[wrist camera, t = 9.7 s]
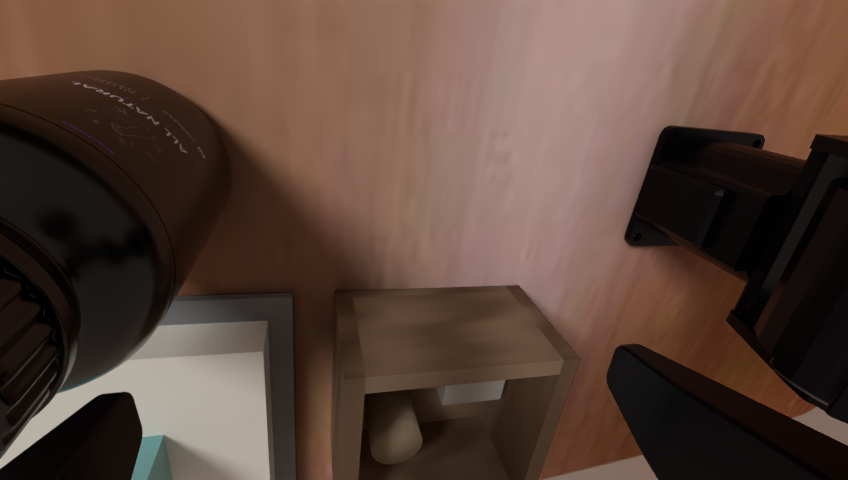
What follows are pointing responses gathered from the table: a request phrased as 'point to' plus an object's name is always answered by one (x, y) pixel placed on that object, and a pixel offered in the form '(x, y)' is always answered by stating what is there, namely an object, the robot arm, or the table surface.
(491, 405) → the parts box
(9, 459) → the lid
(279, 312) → the mat
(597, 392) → the table surface
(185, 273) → the supplement bottle
